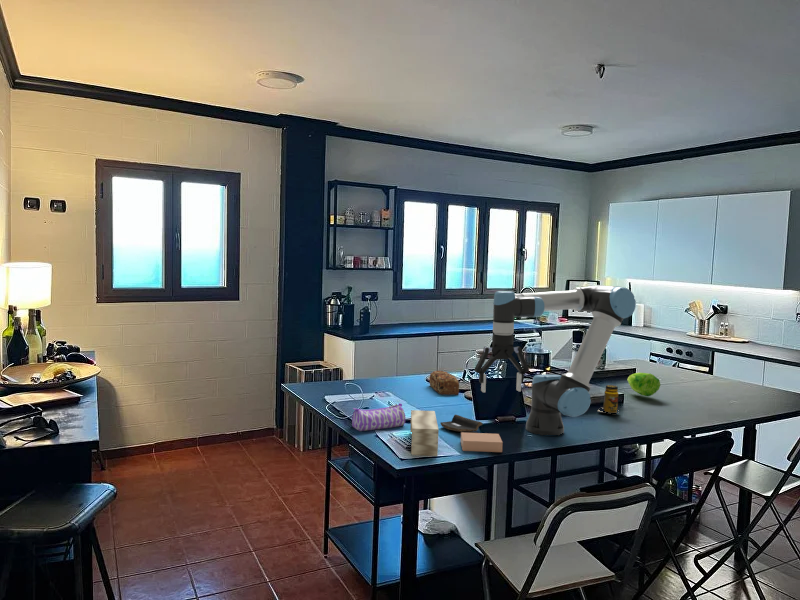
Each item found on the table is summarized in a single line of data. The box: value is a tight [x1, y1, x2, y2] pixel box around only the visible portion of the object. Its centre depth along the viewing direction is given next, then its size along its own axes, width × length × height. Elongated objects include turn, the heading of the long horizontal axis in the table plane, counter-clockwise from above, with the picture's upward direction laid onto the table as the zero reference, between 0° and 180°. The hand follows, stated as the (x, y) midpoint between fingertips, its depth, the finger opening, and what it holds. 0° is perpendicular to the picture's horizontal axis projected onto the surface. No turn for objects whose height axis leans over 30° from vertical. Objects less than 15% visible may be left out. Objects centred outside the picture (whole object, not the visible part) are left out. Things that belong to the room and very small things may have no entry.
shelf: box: [409, 409, 440, 457], centre depth 217 cm, size 9×24×10 cm, turn 0°
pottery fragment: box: [440, 414, 483, 433], centre depth 236 cm, size 15×12×4 cm
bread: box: [429, 369, 460, 396], centre depth 301 cm, size 19×11×10 cm, turn 13°
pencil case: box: [351, 402, 406, 432], centre depth 235 cm, size 22×9×10 cm, turn 125°
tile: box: [459, 431, 504, 453], centre depth 217 cm, size 14×10×4 cm
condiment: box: [597, 384, 619, 414], centre depth 274 cm, size 7×8×12 cm
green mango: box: [627, 372, 661, 397], centre depth 313 cm, size 14×20×12 cm
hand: (501, 391), depth 219 cm, fingers open, 13 cm apart
